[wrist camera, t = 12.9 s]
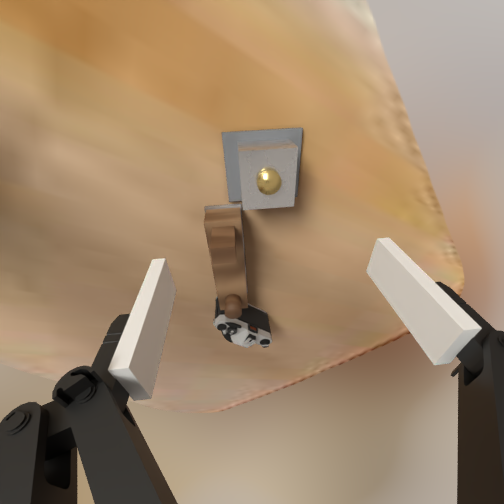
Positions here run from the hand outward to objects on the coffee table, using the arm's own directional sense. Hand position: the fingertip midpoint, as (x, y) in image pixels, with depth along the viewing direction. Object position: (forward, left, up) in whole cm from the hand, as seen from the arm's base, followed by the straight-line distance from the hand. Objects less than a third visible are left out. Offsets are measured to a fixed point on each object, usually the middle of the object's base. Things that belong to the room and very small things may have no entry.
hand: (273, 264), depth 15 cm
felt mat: (+2, 0, -21) cm, 21 cm away
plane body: (-4, -15, -21) cm, 26 cm away
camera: (-4, -30, -21) cm, 37 cm away
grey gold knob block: (+2, 0, -20) cm, 20 cm away
